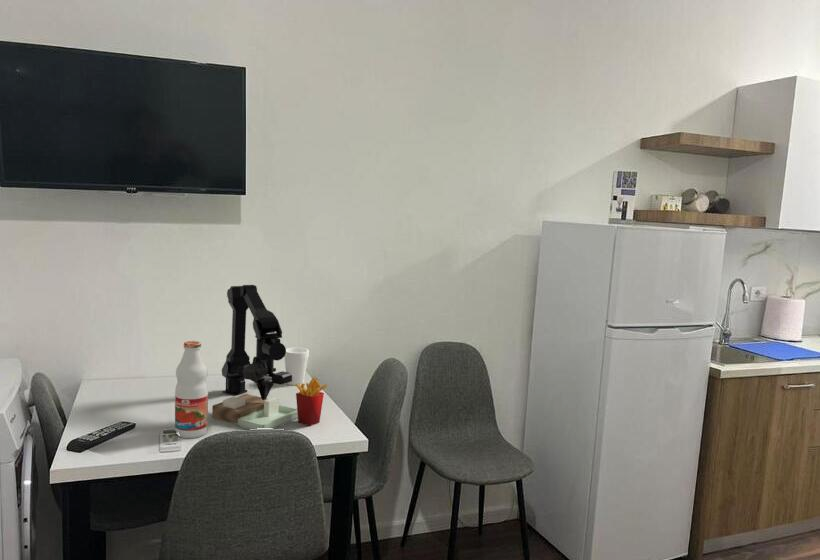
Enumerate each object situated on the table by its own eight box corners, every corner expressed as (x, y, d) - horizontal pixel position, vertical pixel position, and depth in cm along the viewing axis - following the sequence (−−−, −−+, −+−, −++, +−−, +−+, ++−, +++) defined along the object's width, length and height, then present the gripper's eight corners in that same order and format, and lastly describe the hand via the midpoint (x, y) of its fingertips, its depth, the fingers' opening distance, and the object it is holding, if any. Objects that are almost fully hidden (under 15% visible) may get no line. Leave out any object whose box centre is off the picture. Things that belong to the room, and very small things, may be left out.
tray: (237, 426, 208) (237, 418, 208) (276, 410, 225) (276, 403, 225) (264, 433, 203) (264, 425, 203) (301, 416, 220) (301, 409, 220)
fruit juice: (213, 429, 204) (214, 340, 201) (198, 440, 195) (199, 347, 191) (184, 426, 206) (185, 338, 202) (168, 436, 196) (169, 344, 193)
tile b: (222, 406, 214) (222, 400, 214) (233, 402, 219) (233, 396, 218) (234, 409, 212) (234, 403, 212) (245, 405, 216) (245, 399, 216)
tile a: (264, 400, 217) (269, 401, 216) (274, 397, 221) (278, 398, 220) (263, 415, 218) (268, 416, 217) (273, 411, 222) (278, 412, 221)
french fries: (293, 423, 214) (295, 377, 212) (310, 416, 221) (312, 372, 219) (315, 429, 209) (316, 383, 207) (331, 422, 216) (333, 377, 214)
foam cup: (305, 387, 254) (306, 353, 252) (281, 385, 254) (282, 352, 252) (309, 380, 263) (310, 348, 262) (286, 379, 263) (287, 347, 262)
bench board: (212, 417, 215) (212, 405, 214) (245, 405, 229) (246, 393, 228) (240, 424, 209) (241, 412, 209) (273, 411, 224) (273, 400, 223)
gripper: (226, 353, 215) (225, 400, 217) (271, 362, 206) (270, 411, 208) (249, 347, 225) (248, 392, 227) (293, 356, 216) (292, 402, 218)
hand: (263, 399), depth 220 cm, fingers closed
